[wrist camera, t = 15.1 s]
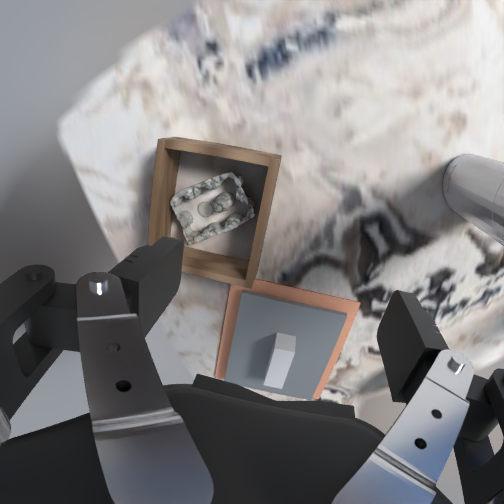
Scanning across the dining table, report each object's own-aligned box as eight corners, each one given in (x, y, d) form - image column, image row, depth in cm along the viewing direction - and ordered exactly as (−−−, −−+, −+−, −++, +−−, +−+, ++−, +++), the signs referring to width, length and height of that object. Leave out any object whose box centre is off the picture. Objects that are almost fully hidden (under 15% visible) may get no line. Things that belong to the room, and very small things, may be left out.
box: (281, 155, 42) (278, 159, 36) (257, 269, 48) (251, 288, 43) (175, 136, 43) (158, 139, 37) (163, 247, 49) (146, 262, 44)
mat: (360, 302, 48) (360, 303, 47) (318, 397, 56) (318, 399, 56) (233, 273, 49) (232, 274, 49) (215, 375, 58) (214, 376, 57)
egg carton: (194, 238, 48) (184, 248, 45) (174, 192, 46) (162, 198, 42) (260, 215, 45) (256, 224, 42) (240, 165, 43) (234, 169, 40)
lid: (345, 309, 48) (350, 331, 43) (311, 392, 56) (310, 416, 50) (244, 286, 49) (236, 306, 44) (226, 374, 57) (219, 397, 51)
